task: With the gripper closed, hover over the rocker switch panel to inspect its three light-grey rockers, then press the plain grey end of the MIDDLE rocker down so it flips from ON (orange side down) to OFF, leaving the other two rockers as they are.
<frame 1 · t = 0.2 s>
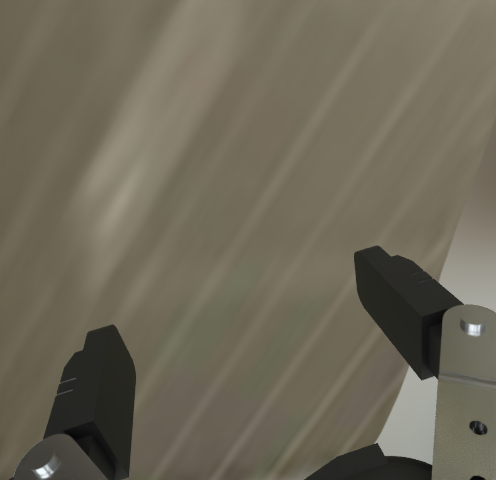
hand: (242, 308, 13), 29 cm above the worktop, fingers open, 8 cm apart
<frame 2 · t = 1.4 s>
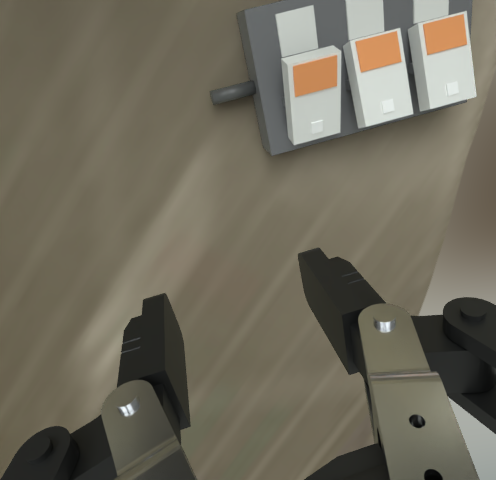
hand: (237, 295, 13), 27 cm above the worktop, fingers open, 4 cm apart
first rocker: (312, 98, 33), point 5 cm above the worktop, hinge at 15.0°
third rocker: (442, 63, 34), point 5 cm above the worktop, hinge at -15.0°
middle rocker: (378, 80, 33), point 5 cm above the worktop, hinge at -15.0°
rocker switch panel: (350, 59, 37), on the worktop
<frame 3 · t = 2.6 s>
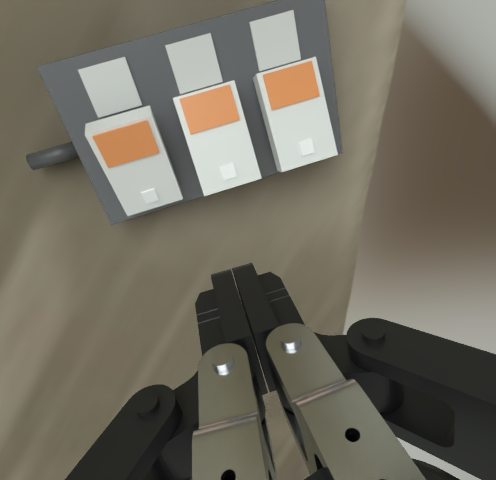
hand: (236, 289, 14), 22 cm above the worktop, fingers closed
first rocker: (138, 164, 28), point 5 cm above the worktop, hinge at 15.0°
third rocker: (295, 116, 28), point 5 cm above the worktop, hinge at -15.0°
middle rocker: (218, 140, 28), point 5 cm above the worktop, hinge at -15.0°
rocker switch panel: (203, 108, 32), on the worktop
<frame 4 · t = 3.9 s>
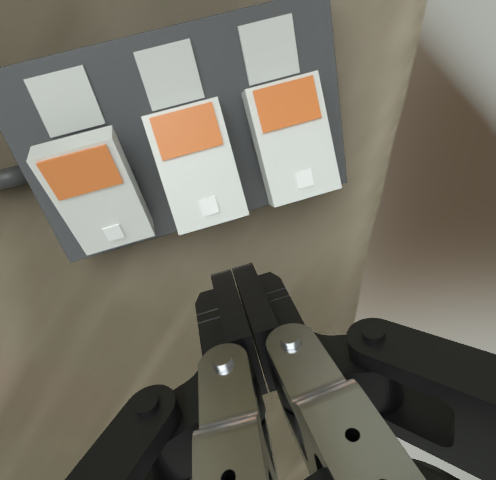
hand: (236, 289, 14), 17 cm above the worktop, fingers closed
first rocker: (98, 195, 23), point 5 cm above the worktop, hinge at 15.0°
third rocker: (292, 141, 24), point 5 cm above the worktop, hinge at -15.0°
middle rocker: (197, 167, 23), point 5 cm above the worktop, hinge at -15.0°
rocker switch panel: (184, 126, 27), on the worktop
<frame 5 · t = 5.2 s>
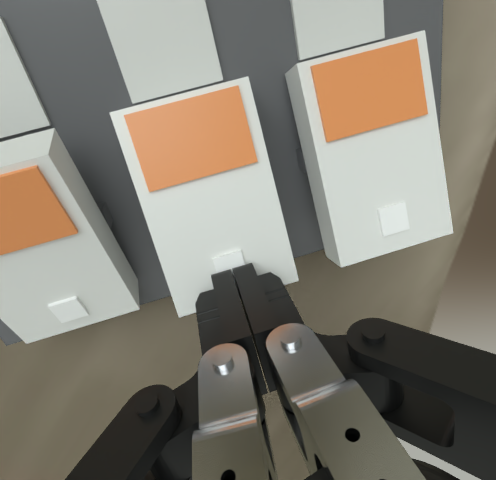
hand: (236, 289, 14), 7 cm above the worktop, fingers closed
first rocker: (38, 251, 13), point 5 cm above the worktop, hinge at 15.0°
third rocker: (371, 154, 14), point 5 cm above the worktop, hinge at -15.0°
middle rocker: (210, 200, 13), point 5 cm above the worktop, hinge at -14.8°, touching gripper
rocker switch panel: (187, 129, 17), on the worktop
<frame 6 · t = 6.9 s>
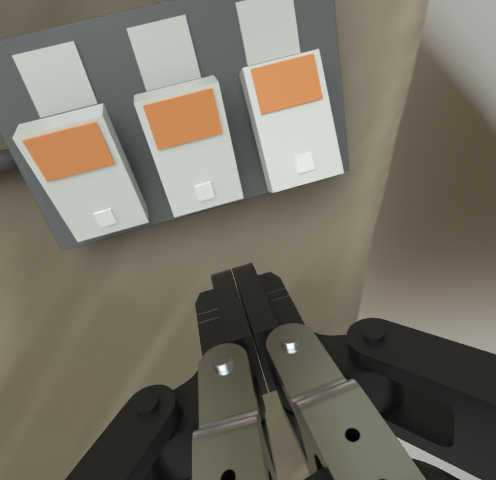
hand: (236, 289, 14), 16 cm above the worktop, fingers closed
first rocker: (89, 178, 22), point 5 cm above the worktop, hinge at 15.0°
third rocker: (292, 124, 23), point 5 cm above the worktop, hinge at -15.0°
middle rocker: (193, 150, 22), point 5 cm above the worktop, hinge at 9.0°
rocker switch panel: (181, 111, 26), on the worktop
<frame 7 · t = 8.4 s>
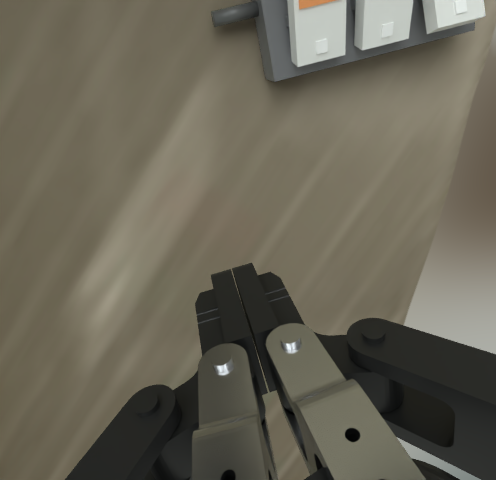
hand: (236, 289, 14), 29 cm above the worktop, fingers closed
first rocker: (317, 14, 32), point 5 cm above the worktop, hinge at 15.0°
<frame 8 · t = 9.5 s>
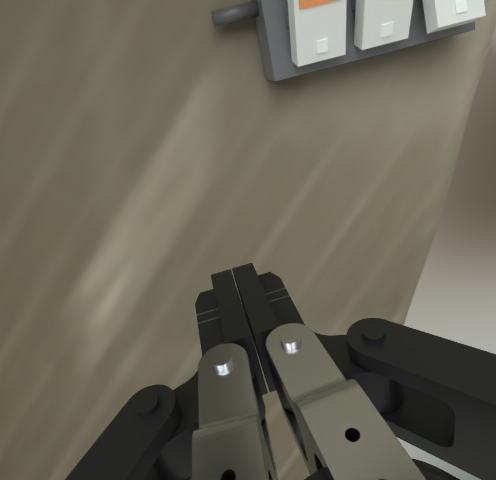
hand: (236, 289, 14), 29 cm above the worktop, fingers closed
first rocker: (317, 14, 32), point 5 cm above the worktop, hinge at 15.0°
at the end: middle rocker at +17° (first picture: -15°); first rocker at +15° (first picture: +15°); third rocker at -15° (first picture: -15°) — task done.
